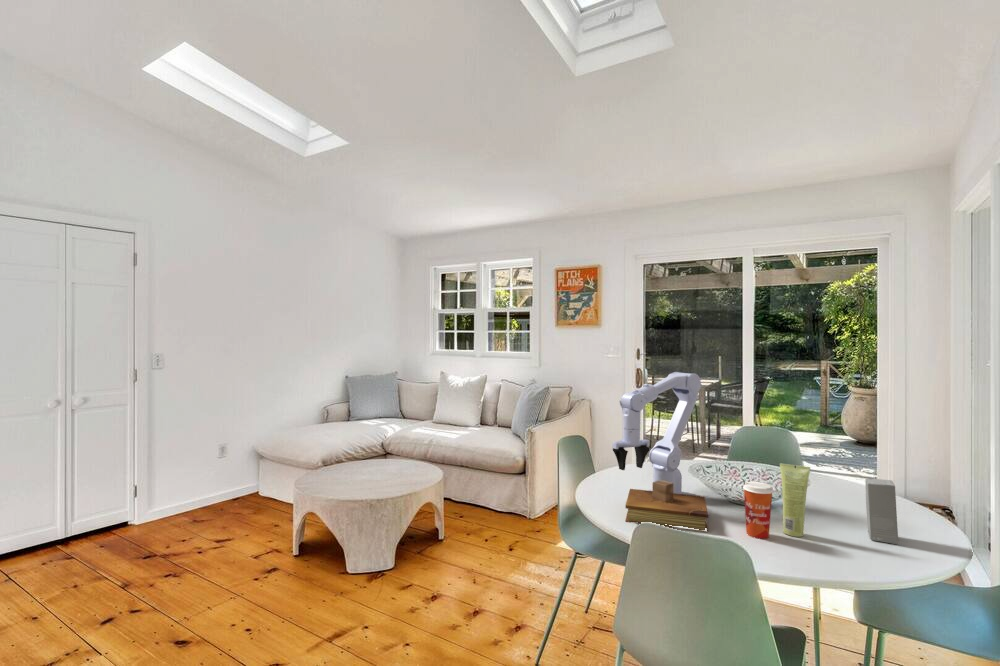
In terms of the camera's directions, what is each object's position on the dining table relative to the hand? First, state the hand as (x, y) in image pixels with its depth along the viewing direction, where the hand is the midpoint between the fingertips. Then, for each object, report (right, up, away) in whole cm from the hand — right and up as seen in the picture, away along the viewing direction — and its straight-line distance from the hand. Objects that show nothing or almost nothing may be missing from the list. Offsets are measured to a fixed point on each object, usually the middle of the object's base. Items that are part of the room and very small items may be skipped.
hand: (630, 468), depth 175 cm
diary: (+7, -11, -16) cm, 21 cm away
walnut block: (+6, -6, -15) cm, 17 cm away
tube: (+39, -11, -30) cm, 50 cm away
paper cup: (+28, -11, -31) cm, 43 cm away
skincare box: (+62, -11, -32) cm, 70 cm away
